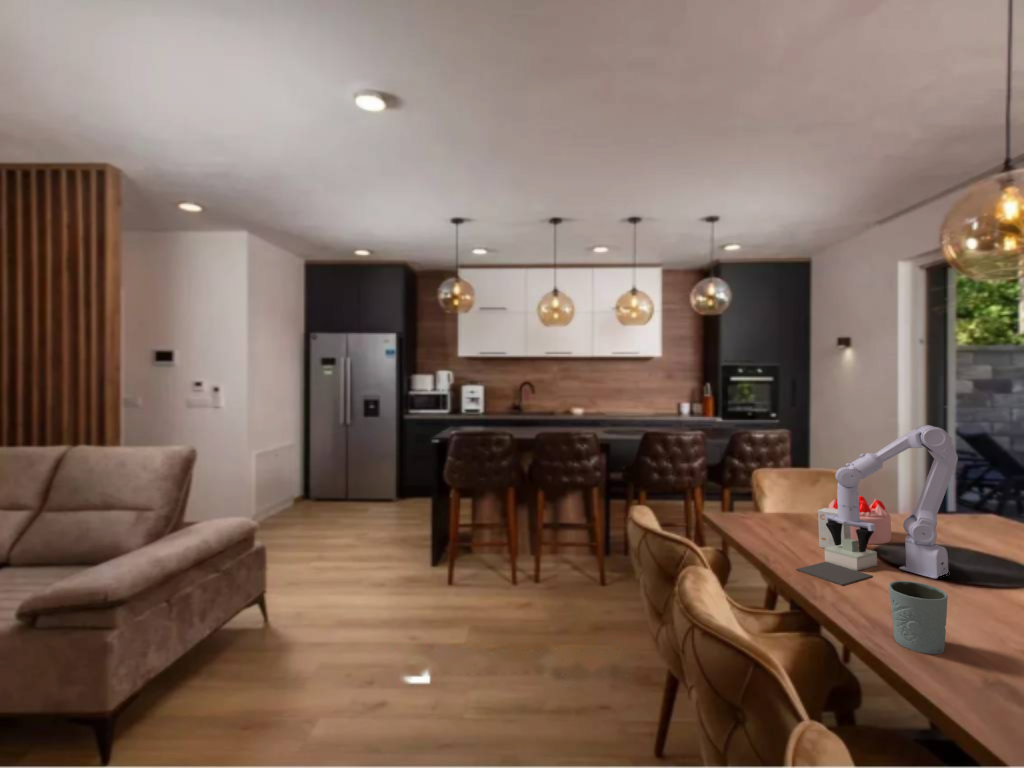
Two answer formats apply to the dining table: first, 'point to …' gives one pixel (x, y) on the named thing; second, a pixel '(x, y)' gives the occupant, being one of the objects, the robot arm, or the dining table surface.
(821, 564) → the mat
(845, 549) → the lid
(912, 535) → the robot arm
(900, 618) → the green embossed pot
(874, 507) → the cake
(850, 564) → the shallow white tray
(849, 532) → the small box
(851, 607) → the dining table surface
